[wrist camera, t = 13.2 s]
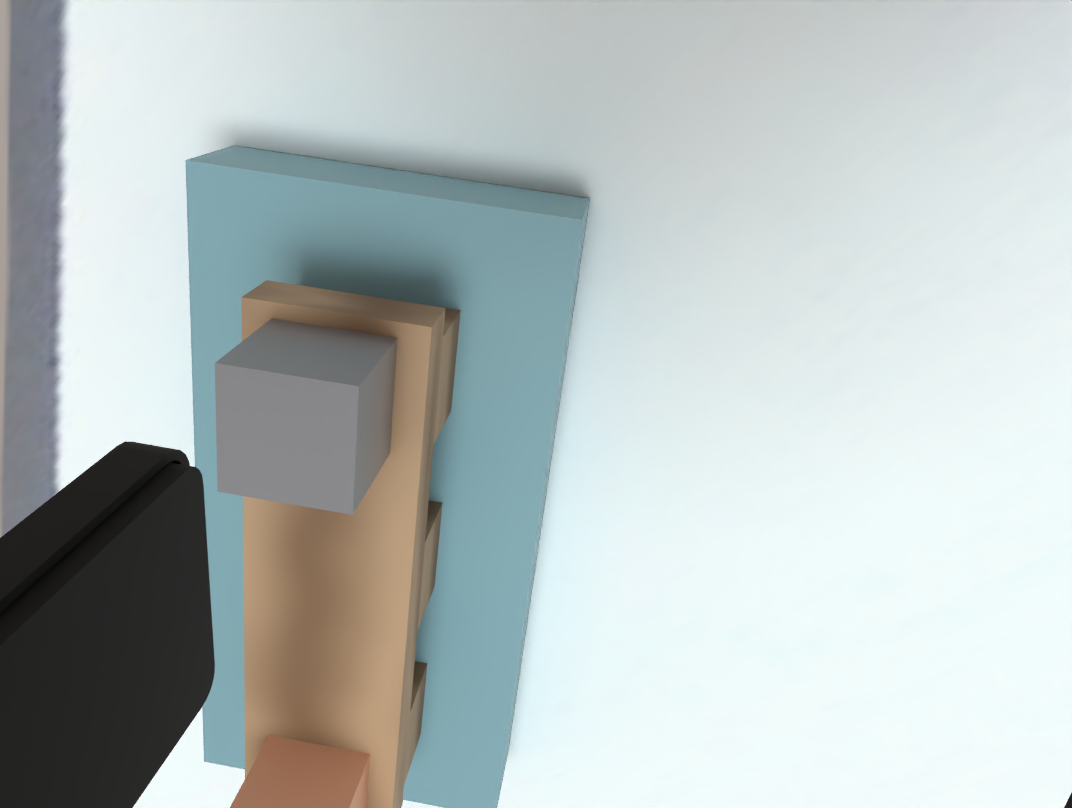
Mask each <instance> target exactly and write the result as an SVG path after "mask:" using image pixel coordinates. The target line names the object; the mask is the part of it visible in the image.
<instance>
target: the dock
mask: <svg viewBox="0 0 1072 808" xmlns="http://www.w3.org/2000/svg"><path fill="white" fill-rule="evenodd" d="M186 185H187V218H188V251H189V283H190V316H191V348H192V381H193V413H194V446H195V467H196V468H198V469H199V470H200V472H201V474H202V478H203V485H204V501H205V517H206V533H207V548H208V564H209V580H210V596H211V612H212V628H213V643H214V659H215V674H214V680H213V684H212V687H211V690H210V693H209V695H208V697H207V699H206V701H205V703H204V705H203V739H204V762H210V763H215V764H220V765H225V766H230V767H236V768H241V769H245V686H244V561H243V496H240V495H234V494H228V493H222V492H217V446H216V399H215V362H217V361H218V360H219V359H220V358H222V357H223V356H224V355H225V354H227V353H228V352H229V351H231V350H232V349H233V348H234V347H236V346H237V345H238V344H240V343H241V342H242V313H241V297H242V296H244V295H245V294H247V293H248V292H250V291H251V290H253V289H254V288H256V287H257V286H259V285H260V284H262V283H263V282H265V281H266V280H269V281H275V282H282V283H288V284H294V285H303V286H309V287H316V288H322V289H328V290H335V291H341V292H347V293H354V294H360V295H367V296H373V297H379V298H386V299H392V300H398V301H405V302H411V303H418V304H424V305H430V306H437V307H443V308H450V309H456V310H461V312H460V323H459V333H458V344H457V355H456V365H455V376H454V387H453V397H452V408H451V412H450V414H449V416H448V418H447V420H446V422H445V424H444V426H443V428H442V430H441V432H440V434H439V436H438V437H437V439H436V441H435V443H434V446H433V457H432V469H431V480H430V492H429V500H430V501H436V502H442V514H441V525H440V535H439V546H438V556H437V567H436V578H435V587H434V589H433V592H432V595H431V597H430V600H429V602H428V605H427V608H426V610H425V613H424V615H423V618H422V621H421V623H420V626H419V628H418V631H417V641H416V653H415V661H417V662H423V663H427V673H426V684H425V695H424V705H423V716H422V726H421V735H420V738H419V741H418V744H417V747H416V750H415V753H414V756H413V760H412V763H411V766H410V769H409V772H408V775H407V778H406V781H405V784H404V790H403V800H408V801H413V802H419V803H424V804H429V805H434V806H439V807H445V808H497V805H498V800H499V795H500V790H501V785H502V780H503V775H504V770H505V765H506V760H507V755H508V749H509V742H510V735H511V728H512V722H513V715H514V708H515V701H516V695H517V688H518V681H519V674H520V668H521V661H522V654H523V647H524V640H525V634H526V627H527V620H528V613H529V607H530V600H531V593H532V586H533V580H534V573H535V566H536V559H537V553H538V546H539V539H540V532H541V526H542V519H543V512H544V505H545V499H546V492H547V485H548V478H549V471H550V465H551V458H552V451H553V444H554V438H555V431H556V424H557V417H558V411H559V404H560V397H561V390H562V384H563V377H564V370H565V363H566V357H567V350H568V343H569V336H570V330H571V323H572V316H573V309H574V302H575V296H576V289H577V282H578V275H579V269H580V262H581V255H582V248H583V242H584V235H585V228H586V221H587V215H588V208H589V201H590V198H583V197H576V196H569V195H563V194H556V193H549V192H543V191H536V190H529V189H522V188H516V187H509V186H502V185H496V184H489V183H482V182H476V181H469V180H462V179H455V178H449V177H442V176H435V175H429V174H422V173H415V172H408V171H402V170H395V169H388V168H382V167H375V166H368V165H361V164H355V163H348V162H341V161H335V160H328V159H321V158H314V157H308V156H301V155H294V154H288V153H281V152H274V151H268V150H261V149H254V148H247V147H241V146H231V147H228V148H224V149H221V150H218V151H214V152H211V153H208V154H205V155H201V156H198V157H195V158H191V159H188V160H186Z"/></svg>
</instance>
